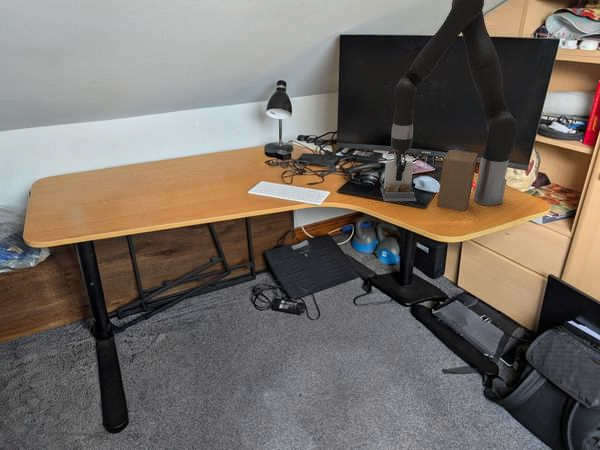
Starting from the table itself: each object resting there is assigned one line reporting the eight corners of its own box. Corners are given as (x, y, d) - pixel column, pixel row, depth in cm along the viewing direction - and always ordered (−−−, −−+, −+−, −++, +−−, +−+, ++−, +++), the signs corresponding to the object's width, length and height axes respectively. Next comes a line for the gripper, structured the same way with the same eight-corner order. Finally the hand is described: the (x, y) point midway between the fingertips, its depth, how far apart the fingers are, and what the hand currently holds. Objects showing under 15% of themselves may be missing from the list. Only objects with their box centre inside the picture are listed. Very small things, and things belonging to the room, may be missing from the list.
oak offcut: (396, 194, 175) (397, 184, 173) (397, 196, 173) (398, 186, 171) (386, 194, 175) (386, 184, 173) (386, 196, 173) (387, 186, 172)
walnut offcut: (409, 194, 175) (410, 184, 173) (410, 196, 173) (411, 186, 171) (399, 194, 175) (400, 184, 173) (400, 196, 173) (400, 186, 171)
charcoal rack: (410, 191, 181) (411, 183, 179) (416, 204, 170) (417, 195, 169) (379, 191, 181) (380, 183, 180) (383, 204, 171) (384, 196, 169)
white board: (409, 187, 178) (412, 160, 173) (410, 189, 176) (413, 162, 171) (384, 187, 178) (385, 161, 173) (384, 189, 176) (386, 163, 171)
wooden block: (468, 203, 170) (478, 152, 161) (464, 215, 162) (474, 162, 153) (441, 199, 174) (449, 149, 164) (436, 209, 166) (443, 157, 157)
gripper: (415, 141, 161) (411, 186, 169) (408, 129, 173) (404, 172, 181) (394, 141, 161) (390, 186, 169) (388, 129, 173) (385, 172, 181)
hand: (398, 178), depth 175 cm, fingers closed on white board, 2 cm apart
